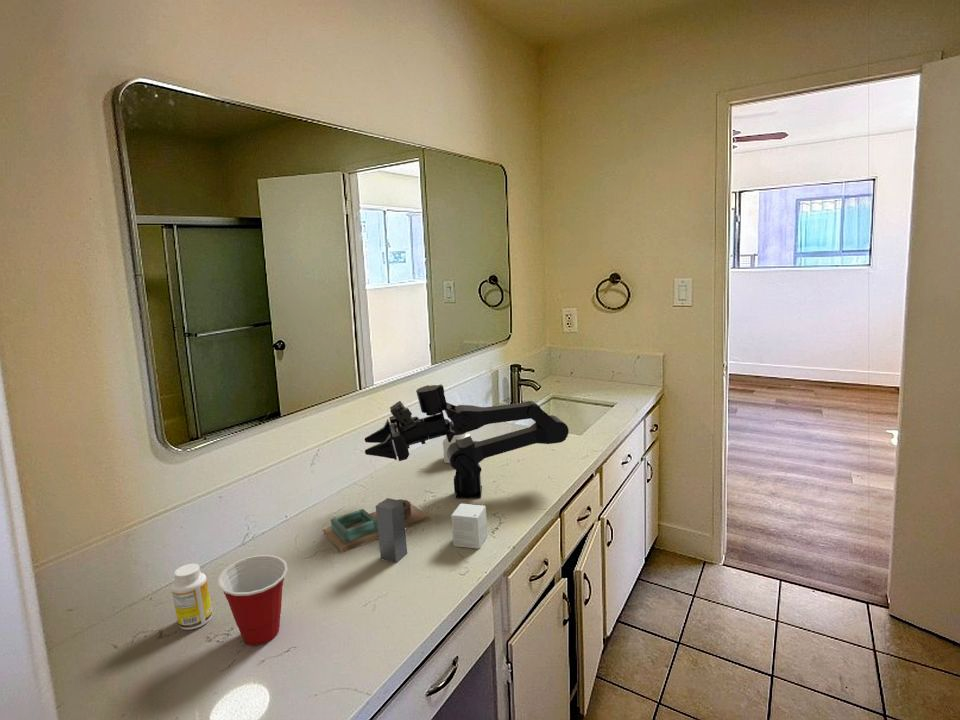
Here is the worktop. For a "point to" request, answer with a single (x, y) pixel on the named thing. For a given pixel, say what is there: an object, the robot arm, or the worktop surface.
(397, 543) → the square bit
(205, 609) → the supplement bottle
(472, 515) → the product box
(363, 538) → the bit holder
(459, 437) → the medicine bottle
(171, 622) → the worktop surface
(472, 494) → the robot arm
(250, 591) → the plastic cup
